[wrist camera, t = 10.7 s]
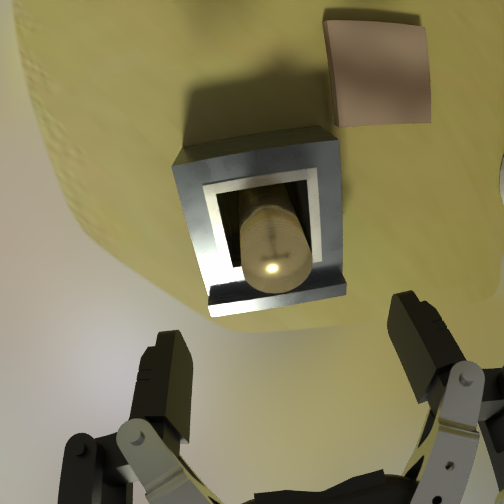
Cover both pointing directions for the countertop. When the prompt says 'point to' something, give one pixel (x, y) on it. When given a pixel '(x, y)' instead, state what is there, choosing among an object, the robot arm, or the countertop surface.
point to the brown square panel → (378, 72)
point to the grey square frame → (254, 175)
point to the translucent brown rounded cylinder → (272, 240)
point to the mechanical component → (502, 181)
